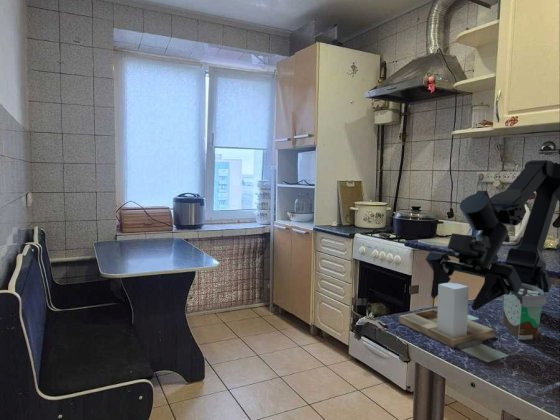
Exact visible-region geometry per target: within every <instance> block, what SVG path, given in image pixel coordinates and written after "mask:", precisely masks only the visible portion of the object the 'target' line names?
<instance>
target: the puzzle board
mask: <svg viewBox="0 0 560 420" xmlns="http://www.w3.org/2000/svg"><path fill="white" fill-rule="evenodd" d="M437 312H438V307H436V308H431V309H427V310H422V311H416V312H413V313H412V312H411V313H407V314H402V315H398V323H399V324H400V325H403V326H406V327H408V328H410V329H412V330H414V331H416V332H419V333H421V334H422V335H425V336H427V337H429V338H431V339H433V340H435V341H438V342H440V343H442V344H444V345H446V346H448V347H451V348H453V349H454V348H456V349H458V350H460V351H462V352H463V353H466V354H468V355H471V356H472V357H475V358H477V359H479V360H481V361H484V362H486V363H489V362H490V363H491V362H494V361H497V360H500V359H504V358H506V357H510V355H509V354H506V353H504V352H502V351H501V350H500V351H499V350H497V349H494V348H492V347H490V346H488V345H485V344H483V342H482V341H484V340H488V339H493V338H495V332H496V331H495V330H496V329H495V328H491V327H488V326H486V325H484V324H480V323H479V322H475V321H476V320H480V318H479V317H476V316H473V315H471V314H467V335H466V336H462V337H458V338H454V339H453V338H450V337H448V336H446V335H444V334H441V333H439V332H437Z"/></svg>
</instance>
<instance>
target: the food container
mask: <svg viewBox="0 0 560 420" xmlns="http://www.w3.org/2000/svg"><path fill="white" fill-rule="evenodd" d="M545 305H547V299H546V295H545V292H543V291H542V290H541V289H539V288H537V287H534V286H530V285H526V284H522V285H521V288H520V290H519V292H518V293H512V292H510V294H509V295H506V294H504V295H502V325H504V326H505V328H506V329H507V330H508V331H510V333H511V334H512V335H513V337H515V338H516V340H517V341H519V342H520V341H521V342H529V341H533V340H537V338H538V335H539V330H540V329H539V328H540V324H541V323H540V322H541V317H542V315H541V310H542V308H543V306H545Z"/></svg>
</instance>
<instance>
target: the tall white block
mask: <svg viewBox="0 0 560 420" xmlns="http://www.w3.org/2000/svg"><path fill="white" fill-rule="evenodd" d="M469 288H470V287H469V286H466V285H464V284H460V283H457V282H453V281H451V282H450V281H449V282H448V283H443V284H438V295H437V308H438V312H437V332H439V333H441V334H444V335H446V336H448V337H450V338H453V339H454V338H458V337H462V336H466V335H467V314H468V313H469V311H468V310H469V309H468V308H469ZM468 315H469V314H468Z"/></svg>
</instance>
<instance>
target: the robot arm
mask: <svg viewBox="0 0 560 420" xmlns="http://www.w3.org/2000/svg"><path fill="white" fill-rule="evenodd" d="M534 193H535V197H534V200H533V203H532V205H531V206H532V207H531V209H530V213H529V216H528V220H527V222H526V225H525V228H524V232H523V235H522V238H521V241H520V244H519V245H518V246H517V247H514V248H513V247H511V248H510V249H509V250H508V252H507V257H506V259H505V260H504V263H499V262H498V260H499V256H498V253H499V251H500V250H501V247H502V245H503V244H504V243H510V241H511V240H510V239H511V237H510V235H509V230H508V229H507V227H506V226H518V225H519V224H521V222H522V221H523V220H524V218H525V215H526V213H527V209H526V204H527V202H528V201H529V199H530V198H531V197H532V195H533V194H534ZM559 200H560V163H558V162H553V161H552V160H549V159H536V160H535V159H534V160H532V159H531V160H529V161H526V162H525V165H524V168H523V169H522V171H521V172H520V173H519V174H518V175H517V176H516V178H515V179H514V180H513V181H512V182H511V184H509V186H508V187H507V188H505V190H504V191H501V192H498V193H495V194H494V195H492V196H491V197H490V195H489V193H488V191H487V190H480V189H479V190H478V189H477V190H476V192H475V193H473V194H470V195H468V196H466V197H465V198H464V199H462V200H461V201H460V204H459V209H460V211H461V214H462V215H463V216H464V218H465V220H466V221H467V223H468V225H469V227H470V228H471V229H472V230H474V231H475V233H474V234H473V235H466V234H460V233H451V234H450V238H449V241H448V244H447V249H448V250H452V251H453V252H454V257H455V259H457V260H458V261H455V260H451V258H450V256H449V255H448V253H445V252H439V251H429V253H428V254H427V255H426V258H425V259H424V260H425V261H426V263H427V264H428V265H429V268H431V270H432V271H433V279H432V285H431V293H430V297H431V298H432V299H436V298H437V297H438V284H443V283H450V281H451V276H453V274H454V273H455V272H458V273H463V274H469V276H470V275H471V276H475V277H481V278H484V281H483V285H482V286H481V288H480V290H479V291H478V293H477V295H476V297H475V298H474V300H473V303H472V306H471V309H472V310H473V311H478V310H479V309H480V308H482V307H484V306H485V305H487V304H489V303H490V302H492V301H494V300H496V299H499V298H500V297H503V295H504V294H506V295H509V294H510V292H512V293H518V292H519V290H520V288H521V285H522V284H526V285H530V286H534V287H537V288H539V289H541V290H542V291H543V292H544V293H550V290H551V287H552V280H551V278H550V276H549V274H548V271H547V270H546V268H547V263H546V259H545V257H544V254H543V250H544V248H545V243H546V240H547V237H548V234H549V230H550V227H551V224H552V220H553V216H554V214H555V212H556V208H557V205H558V201H559ZM545 314H547V311H546V310H541V316H542V315H545Z"/></svg>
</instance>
